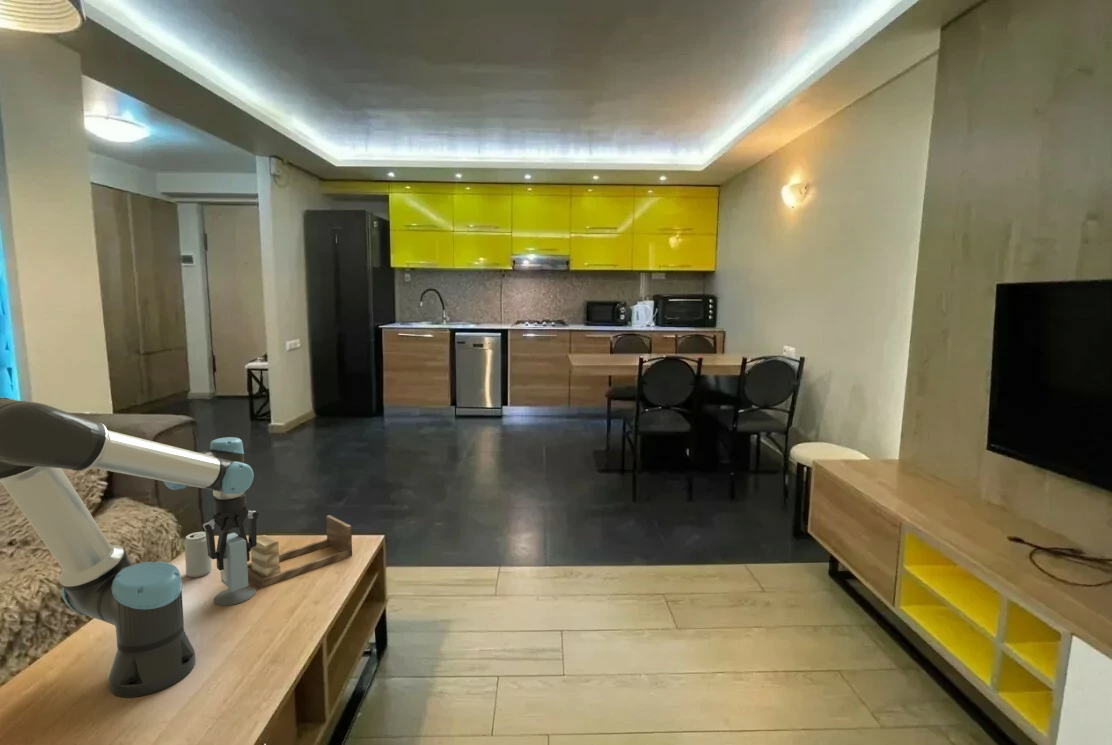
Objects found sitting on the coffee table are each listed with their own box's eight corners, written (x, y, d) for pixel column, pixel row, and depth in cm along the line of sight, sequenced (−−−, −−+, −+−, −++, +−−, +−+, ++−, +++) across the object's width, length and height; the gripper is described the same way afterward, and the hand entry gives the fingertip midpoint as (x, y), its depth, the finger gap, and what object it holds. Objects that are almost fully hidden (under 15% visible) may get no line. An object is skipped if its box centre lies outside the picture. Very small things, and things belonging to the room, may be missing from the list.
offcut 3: (266, 583, 160) (266, 570, 159) (252, 572, 166) (251, 559, 165) (280, 578, 163) (280, 565, 162) (265, 567, 169) (265, 555, 168)
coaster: (221, 610, 145) (221, 608, 145) (208, 596, 151) (208, 595, 151) (261, 595, 152) (261, 594, 152) (247, 583, 159) (247, 582, 159)
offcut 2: (265, 569, 159) (264, 556, 159) (251, 560, 165) (250, 547, 164) (279, 564, 163) (278, 551, 162) (265, 556, 168) (264, 543, 168)
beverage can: (188, 570, 166) (186, 532, 165) (213, 566, 169) (211, 529, 167) (184, 580, 160) (182, 540, 159) (210, 576, 163) (208, 537, 161)
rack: (259, 588, 156) (258, 554, 155) (240, 572, 165) (238, 540, 164) (352, 555, 178) (351, 525, 177) (330, 543, 187) (329, 515, 186)
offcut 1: (265, 555, 159) (264, 545, 159) (251, 548, 164) (250, 539, 164) (278, 551, 163) (278, 541, 162) (264, 544, 167) (264, 534, 167)
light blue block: (232, 591, 147) (229, 545, 146) (221, 581, 153) (218, 536, 151) (248, 585, 150) (245, 540, 149) (237, 576, 156) (234, 532, 154)
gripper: (198, 506, 140) (204, 593, 142) (268, 490, 153) (272, 569, 155) (188, 499, 144) (194, 583, 147) (257, 484, 157) (261, 561, 160)
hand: (234, 576), depth 151 cm, fingers closed on light blue block, 4 cm apart
